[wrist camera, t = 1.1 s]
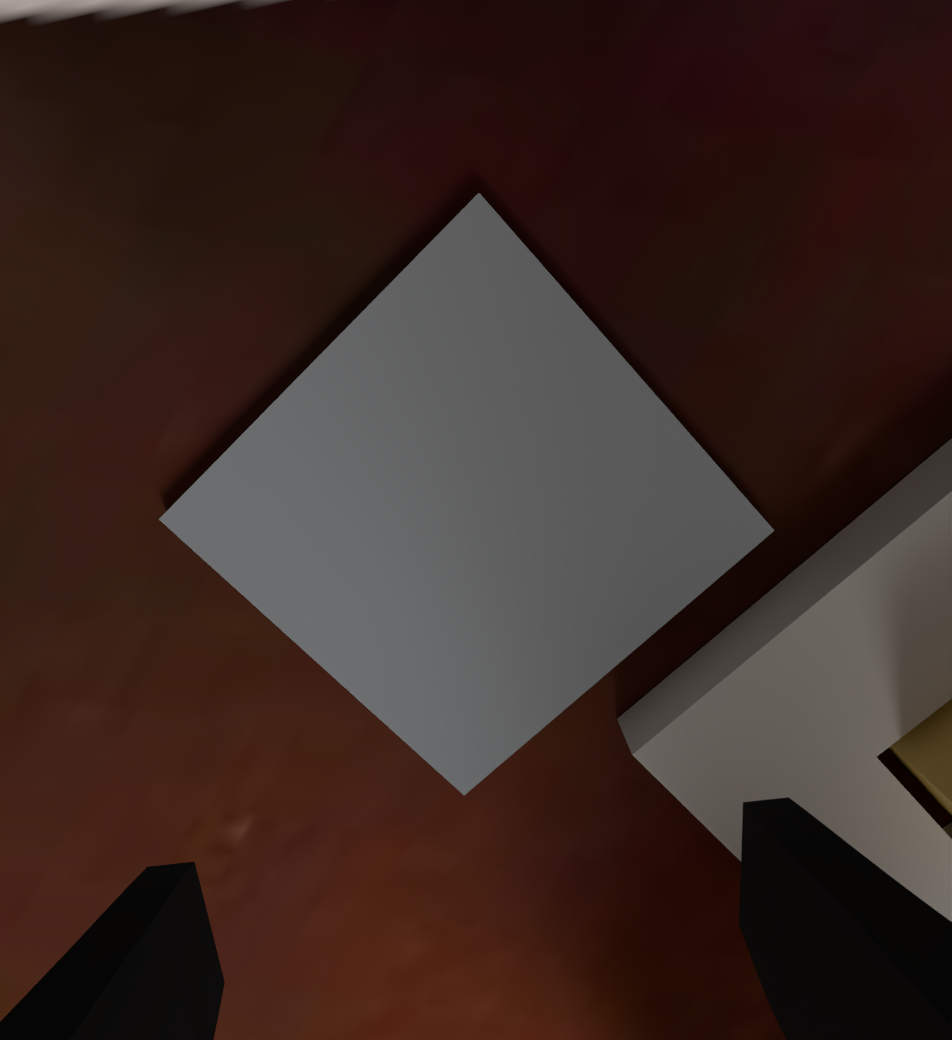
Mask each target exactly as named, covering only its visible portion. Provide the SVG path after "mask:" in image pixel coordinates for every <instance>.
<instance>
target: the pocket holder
mask: <svg viewBox="0 0 952 1040" xmlns="http://www.w3.org/2000/svg"><path fill="white" fill-rule="evenodd" d="M951 699H952V438H951V439H950V440H949V441H948V442H947V443H945V444H944V445H943V446H942V447H941V448H939V449H938V450H937V451H936V452H935V453H934V454H932V455H931V456H930V457H929V458H928V459H926V460H925V461H924V462H923V463H922V464H920V465H919V466H918V467H917V468H916V469H914V470H913V471H912V472H911V473H910V474H908V475H907V476H906V477H905V478H904V479H903V480H901V481H900V482H899V483H898V484H897V485H895V486H894V487H893V488H892V489H891V490H889V491H888V492H887V493H886V494H885V495H883V496H882V497H881V498H880V499H879V500H877V501H876V502H875V503H874V504H873V505H872V506H870V507H869V508H868V509H867V510H866V511H864V512H863V513H862V514H861V515H860V516H858V517H857V518H856V519H855V520H854V521H852V522H851V523H850V524H849V525H848V526H846V527H845V528H844V529H843V530H842V531H841V532H839V533H838V534H837V535H836V536H835V537H833V538H832V539H831V540H830V541H829V542H827V543H826V544H825V545H824V546H823V547H821V548H820V549H819V550H818V551H817V552H815V553H814V554H813V555H812V556H811V557H810V558H808V559H807V560H806V561H805V562H804V563H802V564H801V565H800V566H799V567H798V568H796V569H795V570H794V571H793V572H792V573H790V574H789V575H788V576H787V577H786V578H784V579H783V580H782V581H781V582H780V583H779V584H777V585H776V586H775V587H774V588H773V589H771V590H770V591H769V592H768V593H767V594H765V595H764V596H763V597H762V598H761V599H759V600H758V601H757V602H756V603H755V604H754V605H752V606H751V607H750V608H749V609H748V610H746V611H745V612H744V613H743V614H742V615H740V616H739V617H738V618H737V619H736V620H734V621H733V622H732V623H731V624H730V625H728V626H727V627H726V628H725V629H724V630H723V631H721V632H720V633H719V634H718V635H717V636H715V637H714V638H713V639H712V640H711V641H709V642H708V643H707V644H706V645H705V646H703V647H702V648H701V649H700V650H699V651H697V652H696V653H695V654H694V655H693V656H692V657H690V658H689V659H688V660H687V661H686V662H684V663H683V664H682V665H681V666H680V667H678V668H677V669H676V670H675V671H674V672H672V673H671V674H670V675H669V676H668V677H666V678H665V679H664V680H663V681H662V682H661V683H659V684H658V685H657V686H656V687H655V688H653V689H652V690H651V691H650V692H649V693H647V694H646V695H645V696H644V697H643V698H641V699H640V700H639V701H638V702H637V703H635V704H634V705H633V706H632V707H631V708H630V709H628V710H627V711H626V712H625V713H624V714H622V715H621V716H620V717H619V718H618V719H617V720H618V723H619V725H620V727H621V730H622V732H623V734H624V737H625V739H626V741H627V744H628V746H629V748H630V751H631V753H632V755H633V756H634V757H635V758H636V759H637V760H638V761H639V762H640V763H641V764H642V765H643V766H644V767H645V768H646V769H647V770H648V771H649V772H650V773H651V774H652V775H653V776H654V777H655V778H656V779H657V780H658V781H659V782H660V783H661V784H662V785H663V786H664V787H665V788H666V789H667V790H668V791H669V792H671V793H672V794H673V795H674V796H675V797H676V798H677V799H678V800H679V801H680V802H681V803H682V804H683V805H684V806H685V807H686V808H687V809H688V810H689V811H690V812H691V813H692V814H693V815H694V816H695V817H696V818H697V819H698V820H699V821H700V822H701V823H702V824H703V825H704V826H705V827H706V828H707V829H708V830H709V831H710V832H711V833H712V834H713V835H714V836H715V837H716V838H717V839H718V840H719V841H720V842H721V843H722V844H723V845H724V846H725V847H726V848H727V849H728V850H729V851H730V852H731V853H732V854H733V855H734V856H736V857H737V858H738V859H739V860H740V861H741V850H742V818H743V802H750V801H759V800H768V799H777V798H787V797H789V798H790V799H792V800H793V801H794V802H796V803H797V804H798V805H800V806H801V807H802V808H803V809H805V810H806V811H807V812H809V813H810V814H811V815H813V816H814V817H815V818H816V819H818V820H819V821H820V822H821V823H823V824H824V825H825V826H827V827H828V828H829V829H830V830H832V831H833V832H834V833H835V834H837V835H838V836H839V837H841V838H842V839H843V840H844V841H846V842H847V843H848V844H850V845H851V846H852V847H853V848H855V849H856V850H857V851H858V852H860V853H861V854H862V855H864V856H865V857H866V858H868V859H869V860H870V861H871V862H873V863H874V864H875V865H877V866H878V867H879V868H880V869H882V870H883V871H884V872H886V873H887V874H888V875H890V876H891V877H892V878H893V879H895V880H896V881H897V882H899V883H900V884H901V885H903V886H904V887H905V888H907V889H908V890H909V891H911V892H912V893H913V894H915V895H916V896H917V897H919V898H920V899H921V900H923V901H924V902H925V903H927V904H928V905H929V906H931V907H932V908H933V909H935V910H936V911H937V912H939V913H940V914H942V915H943V916H944V917H946V918H947V919H948V920H950V921H951V922H952V822H950V823H949V824H948V825H946V826H945V827H944V828H941V827H940V826H939V825H938V824H937V823H936V821H935V820H934V819H933V818H932V817H931V816H930V815H929V814H928V813H927V812H926V811H925V809H924V808H923V807H922V806H921V805H920V804H919V803H918V802H917V801H916V800H915V799H914V797H913V796H912V795H911V794H910V793H909V792H908V791H907V790H906V789H905V788H904V786H903V785H902V784H901V783H900V782H899V781H898V780H897V779H896V778H895V777H894V776H893V774H892V773H891V772H890V771H889V770H888V769H887V768H886V767H885V766H884V765H883V763H882V762H881V761H880V760H879V759H878V758H877V756H878V755H880V754H881V753H882V752H883V751H885V750H886V749H887V748H889V747H890V746H891V745H892V744H894V743H895V742H896V741H898V740H899V739H900V738H902V737H903V736H904V735H905V734H907V733H908V732H909V731H911V730H912V729H913V728H914V727H916V726H917V725H918V724H920V723H921V722H922V721H923V720H925V719H926V718H927V717H929V716H930V715H931V714H933V713H934V712H935V711H936V710H938V709H939V708H940V707H942V706H943V705H944V704H945V703H947V702H948V701H949V700H951Z"/></svg>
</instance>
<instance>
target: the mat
mask: <svg viewBox="0 0 952 1040" xmlns="http://www.w3.org/2000/svg"><path fill="white" fill-rule="evenodd" d="M159 520H160V521H161V522H162V523H164V524H165V525H166V526H167V527H168V528H169V529H170V530H171V531H172V532H173V533H175V534H176V535H177V536H178V537H179V538H180V539H181V540H182V541H183V542H185V543H186V544H187V545H188V546H189V547H190V548H191V549H192V550H193V551H194V552H196V553H197V554H198V555H199V556H200V557H201V558H202V559H203V560H204V561H206V562H207V563H208V564H209V565H210V566H211V567H212V568H213V569H214V570H215V571H217V572H218V573H219V574H220V575H221V576H222V577H223V578H224V579H225V580H227V581H228V582H229V583H230V584H231V585H232V586H233V587H234V588H235V589H236V590H238V591H239V592H240V593H241V594H242V595H243V596H244V597H245V598H246V599H248V600H249V601H250V602H251V603H252V604H253V605H254V606H255V607H256V608H257V609H259V610H260V611H261V612H262V613H263V614H264V615H265V616H266V617H267V618H269V619H270V620H271V621H272V622H273V623H274V624H275V625H276V626H277V627H278V628H280V629H281V630H282V631H283V632H284V633H285V634H286V635H287V636H288V637H290V638H291V639H292V640H293V641H294V642H295V643H296V644H297V645H298V646H299V647H301V648H302V649H303V650H304V651H305V652H306V653H307V654H308V655H309V656H311V657H312V658H313V659H314V660H315V661H316V662H317V663H318V664H319V665H320V666H322V667H323V668H324V669H325V670H326V671H327V672H328V673H329V674H330V675H332V676H333V677H334V678H335V679H336V680H337V681H338V682H339V683H340V684H341V685H343V686H344V687H345V688H346V689H347V690H348V691H349V692H350V693H351V694H353V695H354V696H355V697H356V698H357V699H358V700H359V701H360V702H361V703H362V704H364V705H365V706H366V707H367V708H368V709H369V710H370V711H371V712H372V713H374V714H375V715H376V716H377V717H378V718H379V719H380V720H381V721H382V722H383V723H385V724H386V725H387V726H388V727H389V728H390V729H391V730H392V731H393V732H395V733H396V734H397V735H398V736H399V737H400V738H401V739H402V740H403V741H404V742H406V743H407V744H408V745H409V746H410V747H411V748H412V749H413V750H414V751H416V752H417V753H418V754H419V755H420V756H421V757H422V758H423V759H424V760H425V761H427V762H428V763H429V764H430V765H431V766H432V767H433V768H434V769H435V770H437V771H438V772H439V773H440V774H441V775H442V776H443V777H444V778H445V779H446V780H448V781H449V782H450V783H451V784H452V785H453V786H454V787H455V788H456V789H458V790H459V791H460V792H461V793H462V794H463V795H465V794H466V793H468V792H469V791H470V790H471V789H472V788H473V787H475V786H476V785H477V784H478V783H479V782H481V781H482V780H483V779H484V778H485V777H486V776H488V775H489V774H490V773H491V772H492V771H493V770H495V769H496V768H497V767H498V766H499V765H500V764H502V763H503V762H504V761H505V760H506V759H507V758H509V757H510V756H511V755H512V754H513V753H514V752H516V751H517V750H518V749H519V748H520V747H522V746H523V745H524V744H525V743H526V742H527V741H529V740H530V739H531V738H532V737H533V736H534V735H536V734H537V733H538V732H539V731H540V730H541V729H543V728H544V727H545V726H546V725H547V724H548V723H550V722H551V721H552V720H553V719H554V718H555V717H557V716H558V715H559V714H560V713H561V712H563V711H564V710H565V709H566V708H567V707H568V706H570V705H571V704H572V703H573V702H574V701H575V700H577V699H578V698H579V697H580V696H581V695H582V694H584V693H585V692H586V691H587V690H588V689H589V688H591V687H592V686H593V685H594V684H595V683H596V682H598V681H599V680H600V679H601V678H602V677H604V676H605V675H606V674H607V673H608V672H609V671H611V670H612V669H613V668H614V667H615V666H616V665H618V664H619V663H620V662H621V661H622V660H623V659H625V658H626V657H627V656H628V655H629V654H630V653H632V652H633V651H634V650H635V649H636V648H637V647H639V646H640V645H641V644H642V643H643V642H645V641H646V640H647V639H648V638H649V637H650V636H652V635H653V634H654V633H655V632H656V631H657V630H659V629H660V628H661V627H662V626H663V625H664V624H666V623H667V622H668V621H669V620H670V619H671V618H673V617H674V616H675V615H676V614H677V613H678V612H680V611H681V610H682V609H683V608H684V607H686V606H687V605H688V604H689V603H690V602H691V601H693V600H694V599H695V598H696V597H697V596H698V595H700V594H701V593H702V592H703V591H704V590H705V589H707V588H708V587H709V586H710V585H711V584H712V583H714V582H715V581H716V580H717V579H718V578H719V577H721V576H722V575H723V574H724V573H725V572H727V571H728V570H729V569H730V568H731V567H732V566H734V565H735V564H736V563H737V562H738V561H739V560H741V559H742V558H743V557H744V556H745V555H746V554H748V553H749V552H750V551H751V550H752V549H753V548H755V547H756V546H757V545H758V544H759V543H760V542H762V541H763V540H764V539H765V538H766V537H768V536H769V535H770V534H771V533H772V532H773V531H774V530H773V528H772V527H771V526H770V525H769V524H768V523H767V522H766V520H765V519H764V518H763V517H762V516H761V515H760V514H759V512H758V511H757V510H756V509H755V508H754V507H753V505H752V504H751V503H750V502H749V501H748V500H747V499H746V497H745V496H744V495H743V494H742V493H741V492H740V491H739V489H738V488H737V487H736V486H735V485H734V484H733V483H732V481H731V480H730V479H729V478H728V477H727V476H726V475H725V473H724V472H723V471H722V470H721V469H720V468H719V467H718V465H717V464H716V463H715V462H714V461H713V460H712V459H711V457H710V456H709V455H708V454H707V453H706V452H705V451H704V449H703V448H702V447H701V446H700V445H699V444H698V443H697V441H696V440H695V439H694V438H693V437H692V436H691V435H690V433H689V432H688V431H687V430H686V429H685V428H684V427H683V425H682V424H681V423H680V422H679V421H678V420H677V419H676V417H675V416H674V415H673V414H672V413H671V412H670V411H669V409H668V408H667V407H666V406H665V405H664V404H663V403H662V401H661V400H660V399H659V398H658V397H657V396H656V394H655V393H654V392H653V391H652V390H651V389H650V388H649V386H648V385H647V384H646V383H645V382H644V381H643V380H642V378H641V377H640V376H639V375H638V374H637V373H636V372H635V370H634V369H633V368H632V367H631V366H630V365H629V364H628V362H627V361H626V360H625V359H624V358H623V357H622V356H621V354H620V353H619V352H618V351H617V350H616V349H615V348H614V346H613V345H612V344H611V343H610V342H609V341H608V340H607V338H606V337H605V336H604V335H603V334H602V333H601V332H600V330H599V329H598V328H597V327H596V326H595V325H594V324H593V322H592V321H591V320H590V319H589V318H588V317H587V316H586V314H585V313H584V312H583V311H582V310H581V309H580V308H579V306H578V305H577V304H576V303H575V302H574V301H573V300H572V298H571V297H570V296H569V295H568V294H567V293H566V292H565V290H564V289H563V288H562V287H561V286H560V285H559V283H558V282H557V281H556V280H555V279H554V278H553V277H552V275H551V274H550V273H549V272H548V271H547V270H546V269H545V267H544V266H543V265H542V264H541V263H540V262H539V261H538V259H537V258H536V257H535V256H534V255H533V254H532V253H531V251H530V250H529V249H528V248H527V247H526V246H525V245H524V243H523V242H522V241H521V240H520V239H519V238H518V237H517V235H516V234H515V233H514V232H513V231H512V230H511V229H510V227H509V226H508V225H507V224H506V223H505V222H504V221H503V219H502V218H501V217H500V216H499V215H498V214H497V213H496V211H495V210H494V209H493V208H492V207H491V206H490V205H489V203H488V202H487V201H486V200H485V199H484V198H483V197H482V195H481V194H480V193H478V194H477V195H476V196H475V197H474V198H473V199H472V200H471V201H470V202H469V203H468V204H467V205H466V206H465V207H464V208H463V209H462V210H461V211H460V212H459V214H458V215H457V216H456V217H455V218H454V219H453V220H452V221H451V222H450V223H449V224H448V225H447V226H446V227H445V228H444V229H443V230H442V231H441V232H440V233H439V234H438V235H437V236H436V237H435V238H434V239H433V240H432V241H431V242H430V243H429V244H428V245H427V246H426V247H425V248H424V249H423V250H422V251H421V252H420V253H419V254H418V255H417V256H416V257H415V258H414V259H413V260H412V261H411V262H410V263H409V265H408V266H407V267H406V268H405V269H404V270H403V271H402V272H401V273H400V274H399V275H398V276H397V277H396V278H395V279H394V280H393V281H392V282H391V283H390V284H389V285H388V286H387V287H386V288H385V289H384V290H383V291H382V292H381V293H380V294H379V295H378V296H377V297H376V298H375V299H374V300H373V301H372V302H371V303H370V304H369V305H368V306H367V307H366V308H365V309H364V310H363V311H362V312H361V313H360V315H359V316H358V317H357V318H356V319H355V320H354V321H353V322H352V323H351V324H350V325H349V326H348V327H347V328H346V329H345V330H344V331H343V332H342V333H341V334H340V335H339V336H338V337H337V338H336V339H335V340H334V341H333V342H332V343H331V344H330V345H329V346H328V347H327V348H326V349H325V350H324V351H323V352H322V353H321V354H320V355H319V356H318V357H317V358H316V359H315V360H314V361H313V362H312V363H311V365H310V366H309V367H308V368H307V369H306V370H305V371H304V372H303V373H302V374H301V375H300V376H299V377H298V378H297V379H296V380H295V381H294V382H293V383H292V384H291V385H290V386H289V387H288V388H287V389H286V390H285V391H284V392H283V393H282V394H281V395H280V396H279V397H278V398H277V399H276V400H275V401H274V402H273V403H272V404H271V405H270V406H269V407H268V408H267V409H266V410H265V411H264V412H263V413H262V415H261V416H260V417H259V418H258V419H257V420H256V421H255V422H254V423H253V424H252V425H251V426H250V427H249V428H248V429H247V430H246V431H245V432H244V433H243V434H242V435H241V436H240V437H239V438H238V439H237V440H236V441H235V442H234V443H233V444H232V445H231V446H230V447H229V448H228V449H227V450H226V451H225V452H224V453H223V454H222V455H221V456H220V457H219V458H218V459H217V460H216V461H215V462H214V463H213V464H212V466H211V467H210V468H209V469H208V470H207V471H206V472H205V473H204V474H203V475H202V476H201V477H200V478H199V479H198V480H197V481H196V482H195V483H194V484H193V485H192V486H191V487H190V488H189V489H188V490H187V491H186V492H185V493H184V494H183V495H182V496H181V497H180V498H179V499H178V500H177V501H176V502H175V503H174V504H173V505H172V506H171V507H170V508H169V509H168V510H167V511H166V512H165V513H164V514H163V516H162V517H161V518H160V519H159Z"/></svg>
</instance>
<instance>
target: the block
mask: <svg viewBox="0 0 952 1040" xmlns="http://www.w3.org/2000/svg"><path fill="white" fill-rule="evenodd" d="M889 749H890V750H891V751H892V752H893V753H894V754H895V755H896V757H897V758H898V759H899V760H900V761H901V762H902V763H903V764H904V765H905V766H906V768H907V769H908V770H909V771H910V772H911V773H912V774H913V775H914V776H915V778H916V779H917V780H918V781H919V782H920V783H921V784H922V785H923V786H924V787H925V789H926V790H927V791H928V792H929V793H930V794H931V795H932V796H933V797H934V798H935V800H936V801H937V802H938V803H939V804H940V805H941V806H942V807H943V808H944V809H945V810H946V811H947V812H948V813H949V814H950V815H951V816H952V699H951V700H949V701H948V702H947V703H945V704H944V705H943V706H942V707H940V708H939V709H938V710H936V711H935V712H934V713H933V714H931V715H930V716H929V717H927V718H926V719H925V720H923V721H922V722H921V723H920V724H918V725H917V726H916V727H914V728H913V729H912V730H911V731H909V732H908V733H907V734H905V735H904V736H903V737H902V738H900V739H899V740H898V741H896V742H895V743H894V744H892V745H891V746H890V747H889Z"/></svg>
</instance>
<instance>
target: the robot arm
mask: <svg viewBox="0 0 952 1040" xmlns="http://www.w3.org/2000/svg"><path fill="white" fill-rule="evenodd" d="M739 925H740V928H741V931H742V933H743V936H744V939H745V941H746V944H747V947H748V950H749V952H750V955H751V958H752V960H753V963H754V966H755V968H756V971H757V974H758V976H759V979H760V981H761V984H762V986H763V989H764V992H765V994H766V997H767V999H768V1002H769V1004H770V1007H771V1009H772V1011H773V1013H774V1015H775V1017H776V1019H777V1021H778V1023H779V1026H780V1028H781V1030H782V1032H783V1034H784V1036H785V1038H786V1040H952V922H951V921H950V920H948V919H947V918H946V917H944V916H943V915H942V914H940V913H939V912H937V911H936V910H935V909H933V908H932V907H931V906H929V905H928V904H927V903H925V902H924V901H923V900H921V899H920V898H919V897H917V896H916V895H915V894H913V893H912V892H911V891H909V890H908V889H907V888H905V887H904V886H903V885H901V884H900V883H899V882H897V881H896V880H895V879H893V878H892V877H891V876H890V875H888V874H887V873H886V872H884V871H883V870H882V869H880V868H879V867H878V866H877V865H875V864H874V863H873V862H871V861H870V860H869V859H868V858H866V857H865V856H864V855H862V854H861V853H860V852H858V851H857V850H856V849H855V848H853V847H852V846H851V845H850V844H848V843H847V842H846V841H844V840H843V839H842V838H841V837H839V836H838V835H837V834H835V833H834V832H833V831H832V830H830V829H829V828H828V827H827V826H825V825H824V824H823V823H821V822H820V821H819V820H818V819H816V818H815V817H814V816H813V815H811V814H810V813H809V812H807V811H806V810H805V809H803V808H802V807H801V806H800V805H798V804H797V803H796V802H794V801H793V800H792V799H790V798H789V797H787V798H777V799H768V800H759V801H750V802H743V818H742V850H741V883H740V915H739ZM224 983H225V982H224V978H223V974H222V970H221V966H220V962H219V958H218V954H217V950H216V946H215V942H214V938H213V934H212V930H211V926H210V922H209V918H208V914H207V910H206V906H205V902H204V898H203V894H202V890H201V886H200V882H199V878H198V874H197V870H196V866H195V862H188V863H179V864H170V865H160V866H151V867H147V868H146V869H145V870H144V871H143V872H142V873H141V874H140V875H139V876H138V877H137V878H136V879H135V880H134V881H133V882H132V883H131V884H130V885H129V886H128V887H127V888H126V889H125V890H124V892H123V893H122V894H121V895H120V896H119V897H118V898H117V899H116V900H115V901H114V902H113V903H112V904H111V905H110V906H109V908H108V909H107V910H106V911H105V912H104V913H103V914H102V915H101V916H100V917H99V918H98V919H97V920H96V922H95V923H94V924H93V925H92V926H91V927H90V928H89V929H88V930H87V931H86V932H85V933H84V934H83V935H82V937H81V938H80V939H79V940H78V941H77V942H76V943H75V944H74V945H73V946H72V947H71V948H70V949H69V950H68V952H67V953H66V954H65V955H64V956H63V957H62V958H61V959H60V960H59V961H58V962H57V963H56V964H55V965H54V966H53V967H52V968H51V969H50V970H49V971H48V973H47V974H46V975H45V976H44V977H43V978H42V979H41V980H40V981H39V982H38V983H37V984H36V985H35V986H34V987H33V988H32V989H31V990H30V991H29V992H28V993H27V995H26V996H25V997H24V998H23V999H22V1000H21V1001H20V1002H19V1003H18V1004H17V1005H16V1006H15V1007H14V1008H13V1009H12V1010H11V1011H10V1012H9V1013H8V1014H7V1015H6V1016H5V1017H4V1019H3V1020H2V1021H1V1022H0V1040H213V1039H214V1034H215V1029H216V1024H217V1019H218V1014H219V1009H220V1004H221V998H222V993H223V988H224Z"/></svg>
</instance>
